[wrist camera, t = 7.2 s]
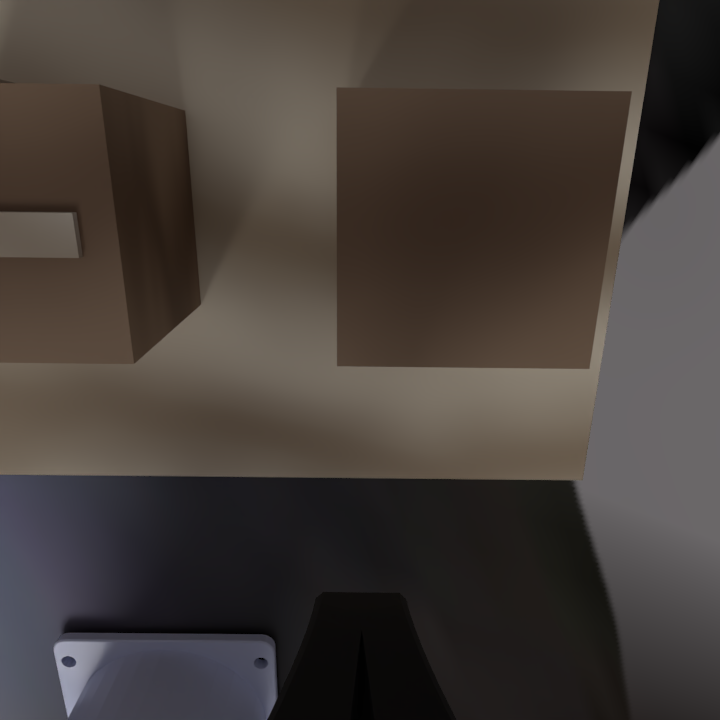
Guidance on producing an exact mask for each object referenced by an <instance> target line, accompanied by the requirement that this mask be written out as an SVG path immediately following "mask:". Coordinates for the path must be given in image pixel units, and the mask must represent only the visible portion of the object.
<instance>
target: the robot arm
mask: <svg viewBox="0 0 720 720" xmlns="http://www.w3.org/2000/svg"><path fill="white" fill-rule="evenodd" d="M53 650H54V655H55V659H56V664H57V669H58V674H59V678H60V683H61V688H62V692H63V697H64V702H65V707H66V711H67V716H68V719H67V720H456V718H455V716H454V714H453V712H452V710H451V708H450V706H449V704H448V702H447V700H446V698H445V696H444V694H443V692H442V690H441V688H440V686H439V684H438V682H437V679H436V677H435V675H434V673H433V671H432V669H431V666H430V664H429V662H428V659H427V657H426V655H425V652H424V650H423V648H422V645H421V643H420V640H419V638H418V635H417V632H416V630H415V627H414V624H413V621H412V618H411V615H410V612H409V609H408V605H407V601H406V599H405V598H404V597H403V596H402V595H401V594H400V593H342V592H323V593H322V594H321V595H319V596H318V597H317V598H316V601H315V605H314V609H313V613H312V616H311V619H310V622H309V625H308V628H307V631H306V634H305V636H304V639H303V641H302V644H301V646H300V649H299V651H298V654H297V656H296V659H295V661H294V663H293V666H292V668H291V670H290V672H289V675H288V677H287V679H286V681H285V683H284V685H283V687H282V690H281V692H280V694H279V696H278V690H277V669H276V648H275V642H274V640H273V639H272V638H271V637H269V636H267V635H263V634H166V633H64V634H62V635H61V636H60V637H59V638H58V640H57V641H56V643H55V644H54V649H53ZM71 657H72V658H71ZM258 658H264V659H265V660H261V659H258Z"/></svg>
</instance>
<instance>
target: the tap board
mask: <svg viewBox="0 0 720 720" xmlns="http://www.w3.org/2000/svg"><path fill="white" fill-rule="evenodd" d="M658 6H659V0H0V79H1V80H5V81H9V82H13V83H40V84H100V85H103V86H106V87H109V88H113V89H116V90H119V91H123V92H126V93H129V94H132V95H136V96H139V97H142V98H145V99H149V100H152V101H155V102H158V103H162V104H165V105H168V106H172V107H175V108H178V109H181V110H185V115H186V127H187V139H188V151H189V164H190V176H191V188H192V200H193V212H194V225H195V237H196V249H197V261H198V274H199V286H200V298H201V305H200V306H199V307H198V308H197V309H196V310H194V311H193V312H192V313H191V314H190V315H189V316H188V317H187V318H185V319H184V320H183V321H182V322H181V323H180V324H179V325H178V326H176V327H175V328H174V329H173V330H172V331H171V332H170V333H169V334H167V335H166V336H165V337H164V338H163V339H162V340H161V341H160V342H158V343H157V344H156V345H155V346H154V347H153V348H152V349H151V350H149V351H148V352H147V353H146V354H145V355H144V356H143V357H142V358H140V359H139V360H138V361H137V362H136V363H135V364H76V363H0V475H101V476H203V477H305V478H407V479H508V480H583V474H584V467H585V461H586V455H587V449H588V442H589V436H590V430H591V424H592V417H593V411H594V405H595V399H596V393H597V386H598V380H599V373H600V367H601V361H602V354H603V349H604V343H605V336H606V330H607V324H608V318H609V311H610V305H611V299H612V292H613V286H614V280H615V274H616V268H617V261H618V255H619V249H620V243H621V236H622V230H623V224H624V218H625V212H626V205H627V199H628V193H629V187H630V180H631V174H632V168H633V162H634V155H635V149H636V143H637V137H638V130H639V124H640V118H641V112H642V105H643V99H644V93H645V87H646V80H647V74H648V68H649V62H650V55H651V49H652V43H653V37H654V31H655V24H656V18H657V12H658ZM336 87H342V88H418V89H494V90H569V91H632V95H631V101H630V108H629V114H628V121H627V127H626V134H625V140H624V147H623V153H622V160H621V166H620V173H619V179H618V186H617V192H616V199H615V206H614V212H613V219H612V225H611V232H610V238H609V245H608V251H607V258H606V264H605V271H604V277H603V284H602V290H601V297H600V303H599V310H598V316H597V323H596V329H595V336H594V342H593V349H592V355H591V362H590V368H589V369H540V368H447V367H354V366H337V100H336Z"/></svg>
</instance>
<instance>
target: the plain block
mask: <svg viewBox="0 0 720 720" xmlns="http://www.w3.org/2000/svg"><path fill="white" fill-rule="evenodd" d="M631 95H632V91H569V90H494V89H418V88H342V87H336V100H337V366H354V367H447V368H540V369H589V368H590V362H591V355H592V349H593V342H594V336H595V329H596V323H597V316H598V310H599V303H600V297H601V290H602V284H603V277H604V271H605V264H606V258H607V251H608V245H609V238H610V232H611V225H612V219H613V212H614V206H615V199H616V192H617V186H618V179H619V173H620V166H621V160H622V153H623V147H624V140H625V134H626V127H627V121H628V114H629V108H630V101H631Z"/></svg>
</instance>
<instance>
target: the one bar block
mask: <svg viewBox="0 0 720 720" xmlns="http://www.w3.org/2000/svg"><path fill="white" fill-rule="evenodd" d="M200 305H201V298H200V286H199V274H198V261H197V249H196V237H195V225H194V212H193V200H192V188H191V176H190V164H189V151H188V139H187V127H186V115H185V110H181V109H178V108H175V107H172V106H168V105H165V104H162V103H158V102H155V101H152V100H149V99H145V98H142V97H139V96H136V95H132V94H129V93H126V92H123V91H119V90H116V89H113V88H109V87H106V86H103V85H100V84H40V83H13V82H9V81H5V80H1V79H0V363H76V364H135V363H136V362H137V361H138V360H139V359H140V358H142V357H143V356H144V355H145V354H146V353H147V352H148V351H149V350H151V349H152V348H153V347H154V346H155V345H156V344H157V343H158V342H160V341H161V340H162V339H163V338H164V337H165V336H166V335H167V334H169V333H170V332H171V331H172V330H173V329H174V328H175V327H176V326H178V325H179V324H180V323H181V322H182V321H183V320H184V319H185V318H187V317H188V316H189V315H190V314H191V313H192V312H193V311H194V310H196V309H197V308H198V307H199V306H200Z"/></svg>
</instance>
